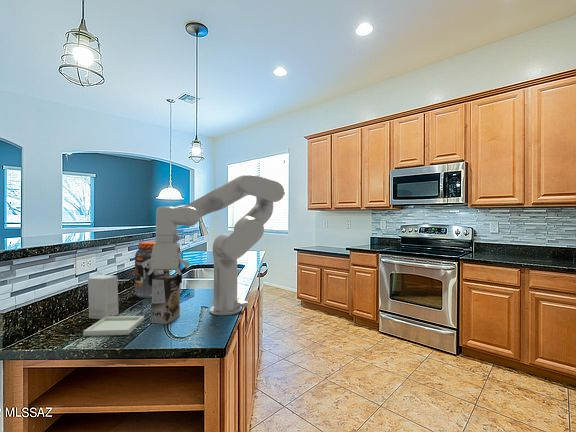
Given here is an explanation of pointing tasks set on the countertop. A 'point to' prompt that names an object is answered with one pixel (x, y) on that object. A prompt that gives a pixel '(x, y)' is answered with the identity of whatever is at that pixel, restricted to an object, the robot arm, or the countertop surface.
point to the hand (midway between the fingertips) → (165, 284)
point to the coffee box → (165, 299)
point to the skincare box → (103, 296)
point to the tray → (114, 326)
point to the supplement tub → (141, 275)
